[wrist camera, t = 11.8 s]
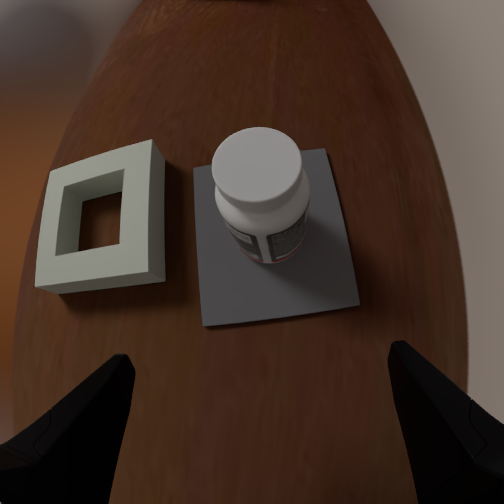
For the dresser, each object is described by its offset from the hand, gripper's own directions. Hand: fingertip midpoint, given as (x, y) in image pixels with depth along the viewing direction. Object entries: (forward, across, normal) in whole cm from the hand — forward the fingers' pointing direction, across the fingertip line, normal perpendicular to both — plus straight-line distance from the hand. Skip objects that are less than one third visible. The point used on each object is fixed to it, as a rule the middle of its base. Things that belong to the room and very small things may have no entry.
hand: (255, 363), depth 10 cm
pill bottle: (+16, 0, +3) cm, 16 cm away
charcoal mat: (+16, 0, +3) cm, 17 cm away
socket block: (+18, +15, +2) cm, 23 cm away
